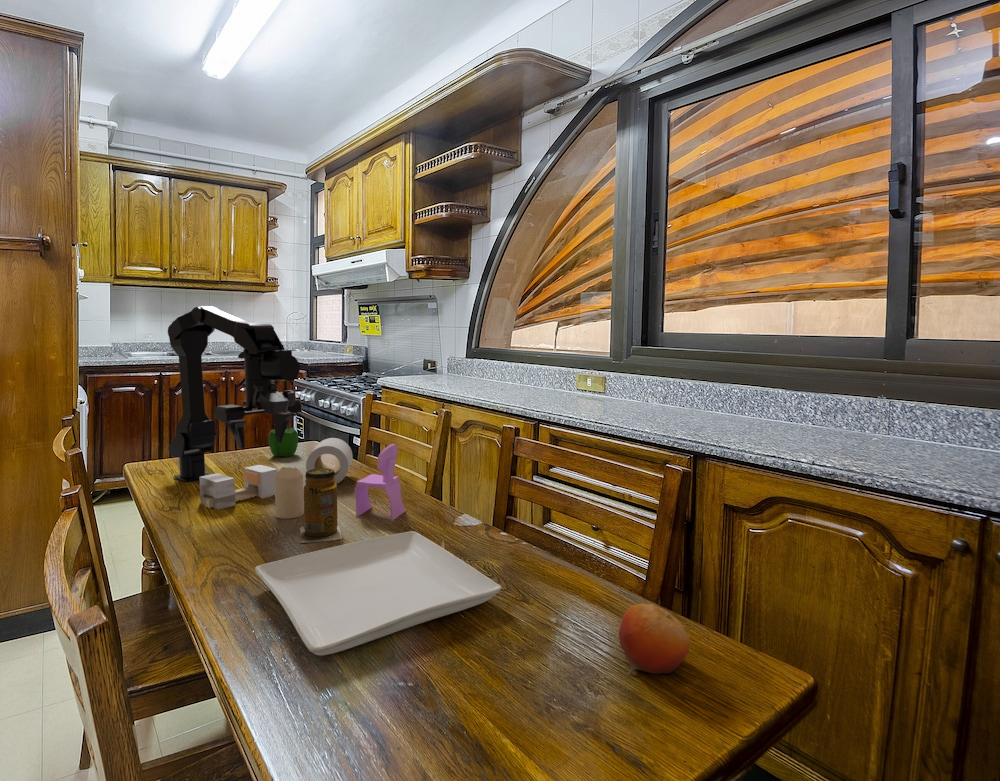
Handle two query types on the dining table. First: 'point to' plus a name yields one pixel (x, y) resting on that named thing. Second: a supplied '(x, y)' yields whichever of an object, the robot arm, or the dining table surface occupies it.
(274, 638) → the dining table surface
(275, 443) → the bell pepper
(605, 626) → the dining table surface
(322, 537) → the condiment
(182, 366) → the robot arm
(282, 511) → the candle
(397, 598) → the square plate
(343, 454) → the toilet paper
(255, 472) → the white block orange stripe
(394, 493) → the toy chair
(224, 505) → the grey block with bar
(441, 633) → the dining table surface
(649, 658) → the fruit
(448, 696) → the dining table surface
